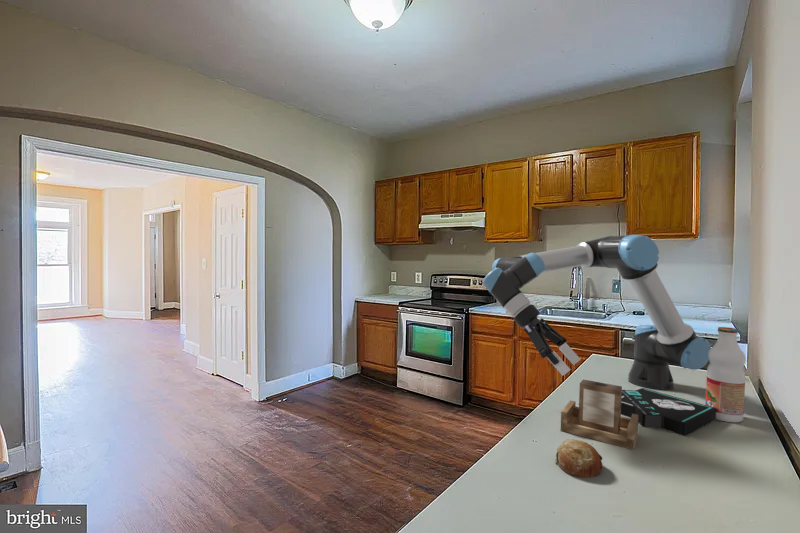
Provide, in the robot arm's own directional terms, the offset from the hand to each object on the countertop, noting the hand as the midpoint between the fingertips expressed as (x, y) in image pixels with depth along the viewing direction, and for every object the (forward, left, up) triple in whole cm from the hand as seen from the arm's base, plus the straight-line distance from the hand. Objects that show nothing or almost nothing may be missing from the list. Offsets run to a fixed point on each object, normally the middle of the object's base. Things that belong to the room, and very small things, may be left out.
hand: (572, 367), depth 118 cm
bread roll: (+5, +23, -18) cm, 30 cm away
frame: (-7, +3, -16) cm, 17 cm away
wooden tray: (-7, +4, -17) cm, 19 cm away
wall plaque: (-32, -12, -18) cm, 38 cm away
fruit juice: (-51, -13, -17) cm, 55 cm away
